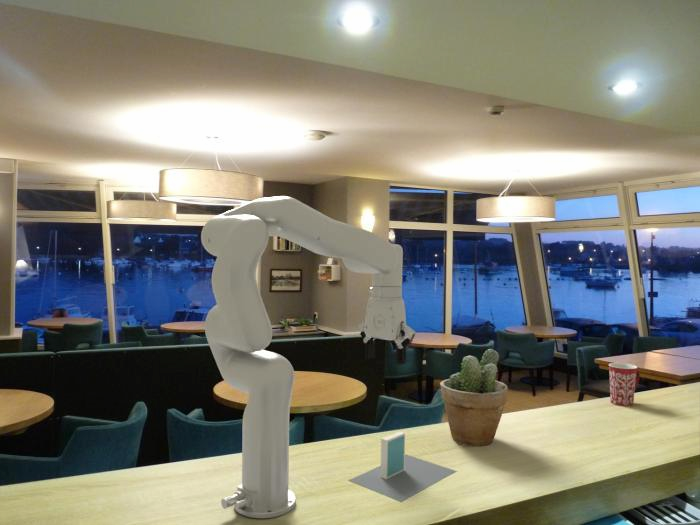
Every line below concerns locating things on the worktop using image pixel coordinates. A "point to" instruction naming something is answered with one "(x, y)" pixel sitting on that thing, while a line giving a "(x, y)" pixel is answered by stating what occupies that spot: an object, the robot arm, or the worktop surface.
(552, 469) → the worktop surface
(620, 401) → the mug
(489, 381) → the potted plant
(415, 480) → the mat
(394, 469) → the tile
